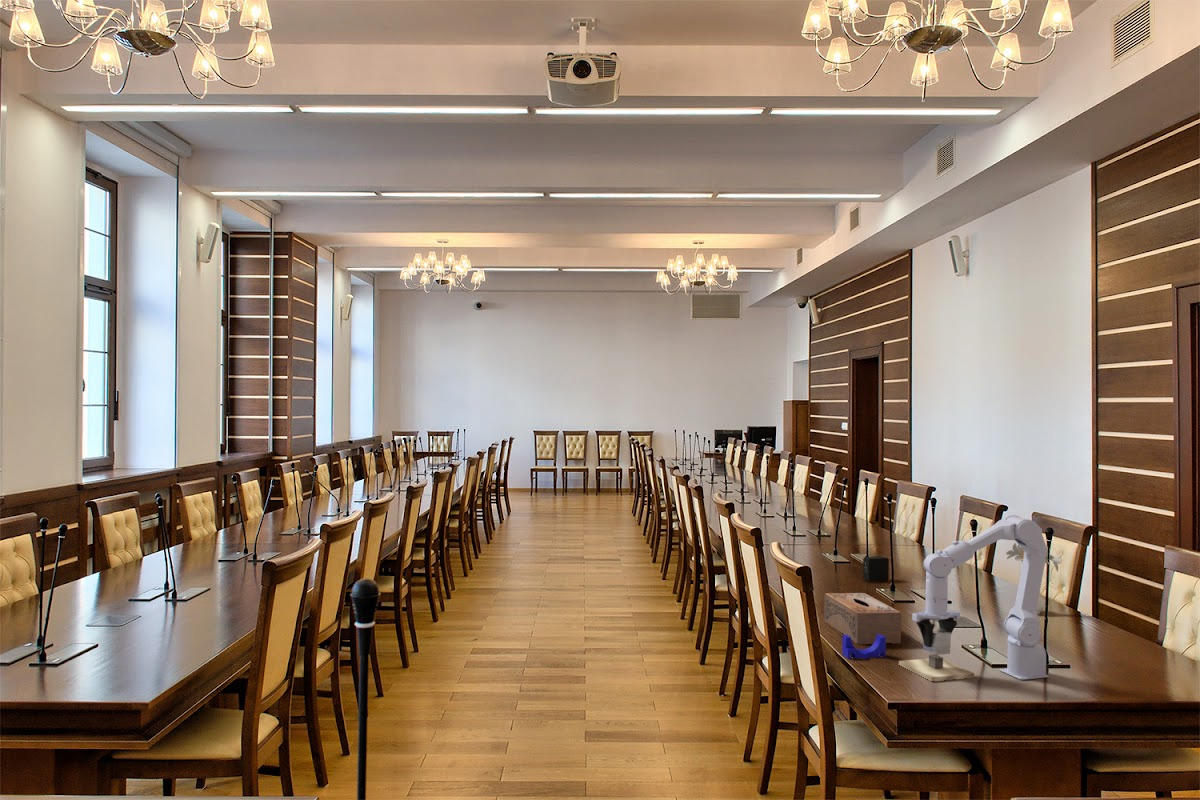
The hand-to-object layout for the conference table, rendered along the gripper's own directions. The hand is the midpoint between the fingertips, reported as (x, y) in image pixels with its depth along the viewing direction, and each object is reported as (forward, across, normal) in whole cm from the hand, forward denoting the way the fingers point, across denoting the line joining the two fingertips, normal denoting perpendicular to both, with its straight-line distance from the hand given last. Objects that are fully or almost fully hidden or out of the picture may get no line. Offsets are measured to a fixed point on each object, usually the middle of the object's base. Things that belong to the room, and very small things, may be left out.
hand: (935, 645), depth 221 cm
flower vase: (+8, +80, +47) cm, 93 cm away
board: (+7, 0, 0) cm, 7 cm away
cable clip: (+8, -12, +16) cm, 22 cm away
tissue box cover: (+8, +2, +39) cm, 40 cm away
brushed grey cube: (+2, 0, 0) cm, 2 cm away
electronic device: (+8, +54, +105) cm, 118 cm away
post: (+6, 0, 0) cm, 6 cm away
